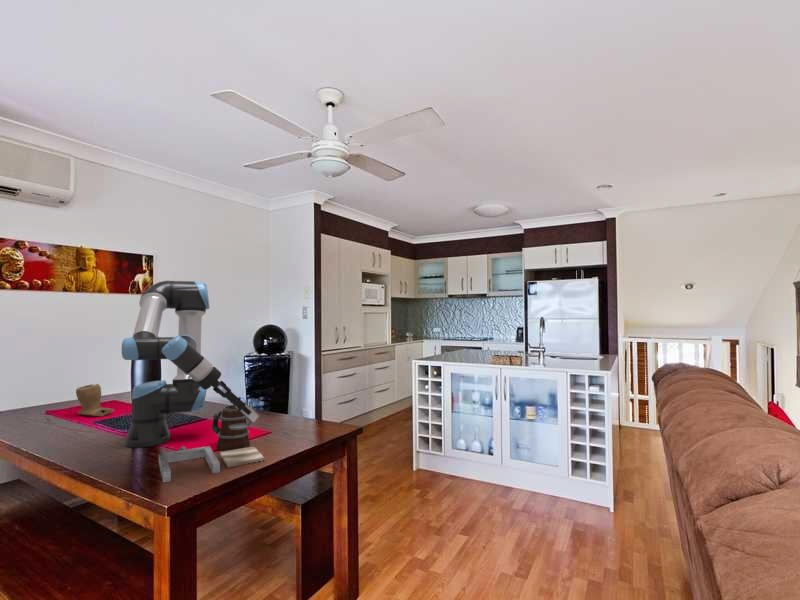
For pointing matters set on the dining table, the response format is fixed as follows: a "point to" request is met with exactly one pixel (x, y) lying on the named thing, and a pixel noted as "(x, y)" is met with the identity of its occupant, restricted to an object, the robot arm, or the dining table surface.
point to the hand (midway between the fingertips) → (253, 416)
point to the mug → (228, 436)
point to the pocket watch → (242, 425)
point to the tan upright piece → (91, 401)
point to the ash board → (241, 456)
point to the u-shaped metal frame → (186, 455)
